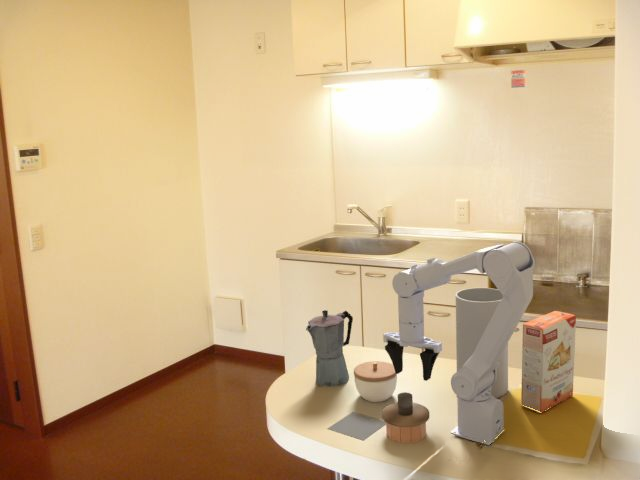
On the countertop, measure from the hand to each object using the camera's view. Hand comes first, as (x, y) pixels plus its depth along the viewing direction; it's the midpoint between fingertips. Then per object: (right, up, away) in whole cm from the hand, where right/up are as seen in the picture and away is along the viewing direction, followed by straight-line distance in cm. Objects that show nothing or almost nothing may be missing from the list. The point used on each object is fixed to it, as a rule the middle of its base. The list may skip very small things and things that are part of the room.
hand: (412, 375), depth 156 cm
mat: (-13, -11, -4) cm, 18 cm away
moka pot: (-18, -6, +23) cm, 30 cm away
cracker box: (+33, -7, +4) cm, 34 cm away
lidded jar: (-8, -8, +11) cm, 15 cm away
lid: (-3, -7, -9) cm, 12 cm away
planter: (-3, -11, -8) cm, 14 cm away
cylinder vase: (+19, -6, +12) cm, 24 cm away
